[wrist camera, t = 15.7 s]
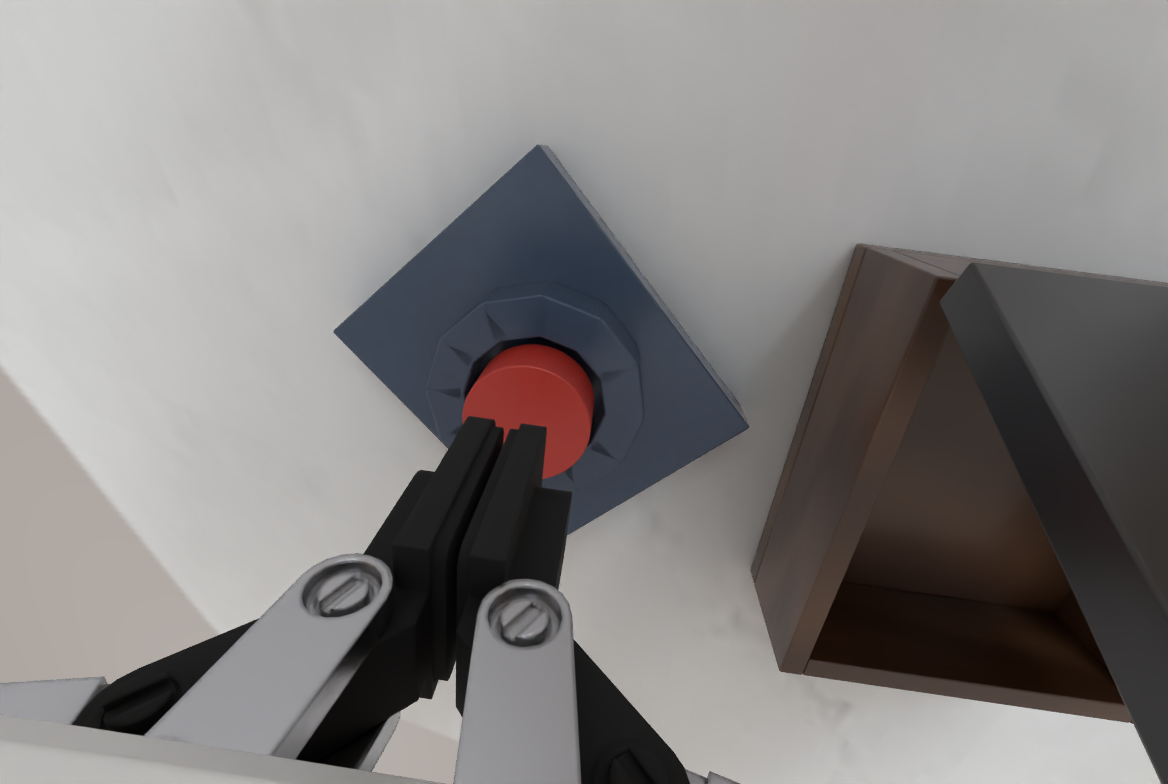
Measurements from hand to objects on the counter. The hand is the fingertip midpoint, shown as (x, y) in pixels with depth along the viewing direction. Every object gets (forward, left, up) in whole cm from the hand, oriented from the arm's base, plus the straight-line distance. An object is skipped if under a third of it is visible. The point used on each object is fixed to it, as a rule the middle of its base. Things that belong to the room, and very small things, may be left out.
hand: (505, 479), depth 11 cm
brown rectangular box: (+12, +10, -8) cm, 18 cm away
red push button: (0, 0, -5) cm, 5 cm away
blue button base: (0, 0, -8) cm, 8 cm away
